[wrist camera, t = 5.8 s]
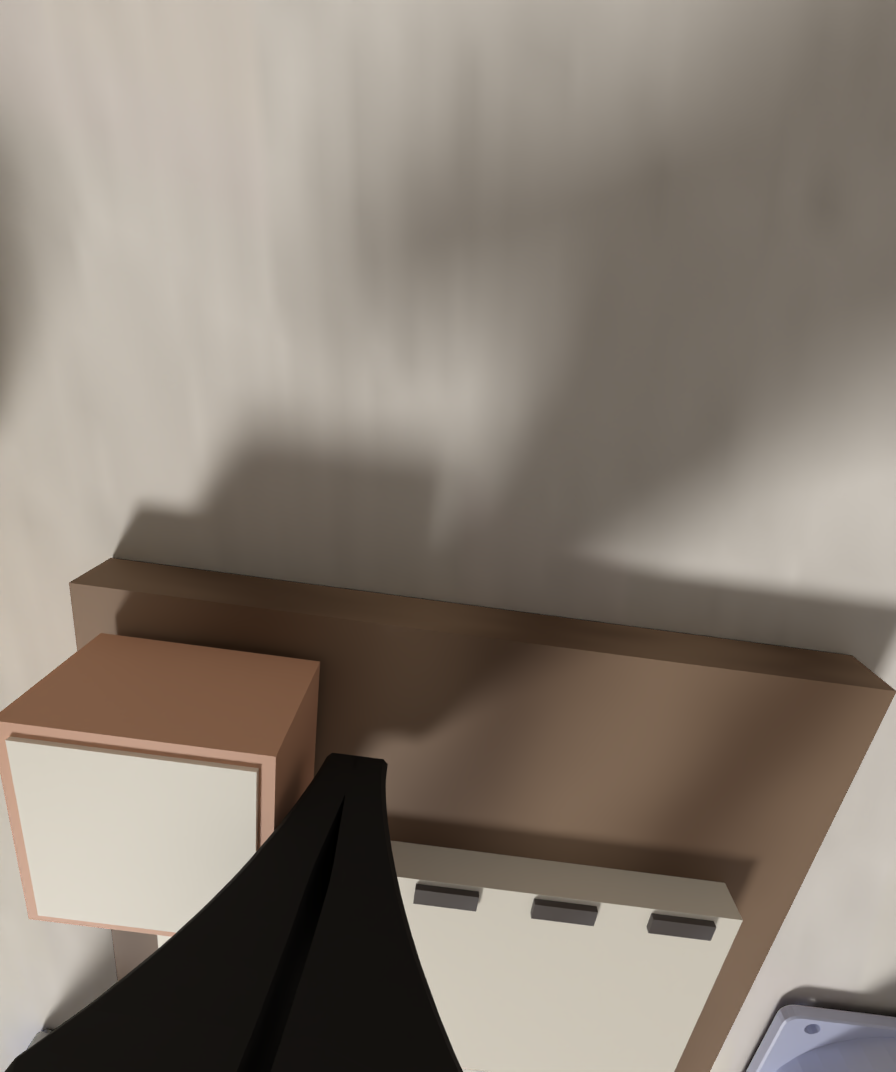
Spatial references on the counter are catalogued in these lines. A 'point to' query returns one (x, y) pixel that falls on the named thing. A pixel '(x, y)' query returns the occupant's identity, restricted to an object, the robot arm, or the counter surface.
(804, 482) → the counter surface
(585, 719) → the board
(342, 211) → the counter surface
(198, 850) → the small tan block
